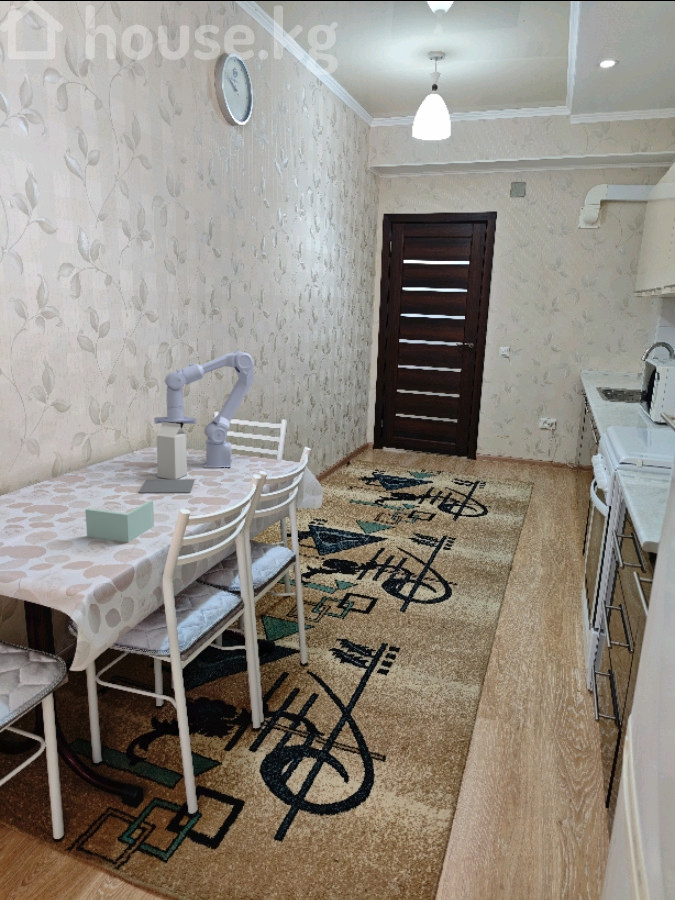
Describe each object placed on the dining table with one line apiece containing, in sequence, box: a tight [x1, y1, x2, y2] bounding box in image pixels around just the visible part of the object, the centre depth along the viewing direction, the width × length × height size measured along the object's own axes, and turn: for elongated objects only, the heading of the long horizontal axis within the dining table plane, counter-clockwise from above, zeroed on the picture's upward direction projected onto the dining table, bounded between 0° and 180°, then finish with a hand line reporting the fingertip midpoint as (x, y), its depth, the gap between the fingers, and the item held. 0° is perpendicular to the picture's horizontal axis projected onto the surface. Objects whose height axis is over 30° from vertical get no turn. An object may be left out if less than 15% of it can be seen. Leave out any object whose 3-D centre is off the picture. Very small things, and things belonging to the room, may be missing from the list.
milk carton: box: [156, 422, 188, 479], centre depth 205 cm, size 7×7×19 cm
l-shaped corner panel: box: [84, 500, 155, 543], centre depth 156 cm, size 12×12×8 cm
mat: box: [137, 478, 195, 494], centre depth 195 cm, size 16×14×1 cm
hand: (176, 443), depth 215 cm, fingers closed
